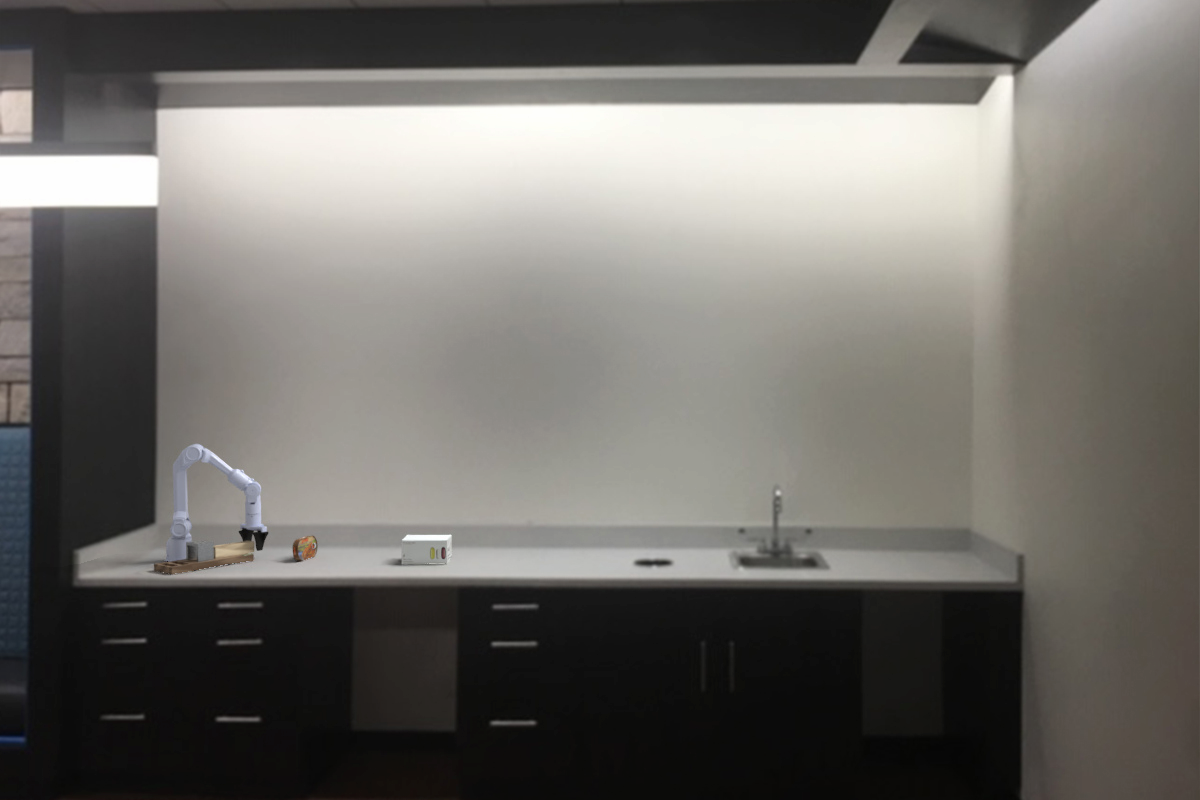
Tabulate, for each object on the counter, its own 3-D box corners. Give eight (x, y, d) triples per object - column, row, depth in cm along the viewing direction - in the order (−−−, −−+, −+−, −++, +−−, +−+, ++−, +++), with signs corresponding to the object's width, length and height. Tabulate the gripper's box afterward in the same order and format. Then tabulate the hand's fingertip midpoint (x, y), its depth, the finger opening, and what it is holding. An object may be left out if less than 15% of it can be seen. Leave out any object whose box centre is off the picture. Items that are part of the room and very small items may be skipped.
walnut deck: (154, 570, 346) (154, 563, 346) (235, 557, 371) (235, 550, 371) (172, 574, 338) (172, 566, 338) (253, 561, 364) (253, 553, 364)
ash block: (209, 557, 358) (209, 546, 358) (248, 551, 371) (248, 540, 371) (215, 558, 356) (215, 547, 356) (254, 552, 369) (254, 541, 369)
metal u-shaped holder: (186, 559, 353) (185, 542, 353) (201, 557, 358) (201, 539, 358) (198, 562, 348) (198, 544, 348) (213, 559, 353) (213, 541, 353)
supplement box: (401, 565, 354) (400, 539, 354) (407, 559, 367) (406, 534, 367) (447, 565, 355) (447, 539, 354) (452, 558, 368) (451, 533, 368)
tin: (298, 562, 360) (298, 540, 360) (291, 562, 361) (290, 539, 361) (318, 555, 375) (318, 533, 375) (311, 555, 376) (310, 533, 375)
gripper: (273, 514, 369) (274, 549, 369) (251, 511, 378) (251, 546, 378) (257, 516, 364) (257, 552, 364) (235, 513, 372) (235, 548, 373)
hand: (253, 549), depth 371 cm, fingers open, 7 cm apart
